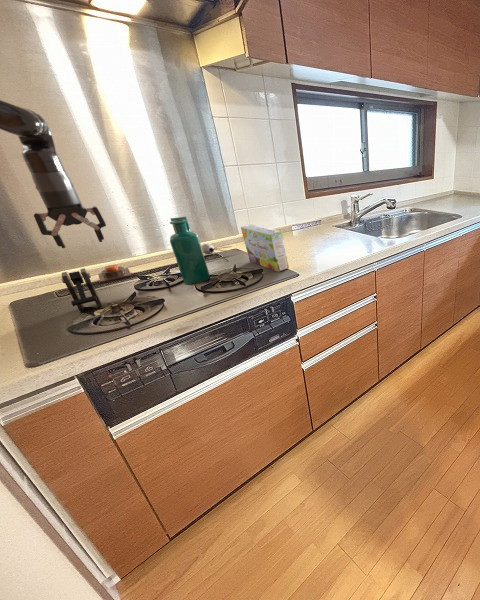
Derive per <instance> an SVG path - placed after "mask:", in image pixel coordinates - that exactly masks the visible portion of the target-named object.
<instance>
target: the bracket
mask: <svg viewBox="0 0 480 600" xmlns="http://www.w3.org/2000/svg"><path fill="white" fill-rule="evenodd" d="M80 274H81V276H82V278H83V281H84V283H85V285H86V287H87V289H88V291H89V293H90V296H95V297H96V299H97V301H94V303H95V305H96V307H97V308H98V309H101V308H103V304H102V301H101V299H100V297H99V295H98V292H97V290H96V288H95V286H94V284H93V282H92V280H91V278H92V275H91V274H90V273H89V272H87V270H86V268H85V267H84V268H80ZM60 280H61V282H62V283H63V284H65V286H66V289H67V290H68V292H69V294H70V296H71V298H72V299H73V301H74V300H78V299H80V296H79V293H78V290H77V288H75V287H76V286H75V285H74V284H73V282H72V281H71V279H70V276H69V273H68V272H67V271H64V272H61V278H60ZM84 307H85V305H84V304H80V305H76V308H77V309H78V311H79V313H80V314H81V313H85V312H86V309H85V310H84Z"/></svg>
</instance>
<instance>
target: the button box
mask: <svg viewBox="0 0 480 600" xmlns="http://www.w3.org/2000/svg"><path fill="white" fill-rule="evenodd" d="M118 268H119V270H116V271H112V272H107V271H106V269H105V268H104V269H103V270H101V272H100V273H98V274H97V275H98V280H99V282H100V284H106V283H110V282H115V281H119V280H125V279H128V278H132V277H133V275H132V273H131V271H130V270H129V269H130V268H129V267H124V266H118Z"/></svg>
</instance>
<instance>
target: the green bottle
mask: <svg viewBox="0 0 480 600" xmlns="http://www.w3.org/2000/svg"><path fill="white" fill-rule="evenodd" d="M169 220H170V222H169V224H170V225H172V229H173V231H174V233H172V234H171V235H170V237H169V244H170V247H171V250H172V252H173V255H174V258H175V261H176V263H177V267H178V269H179V273H180V275H181V278H182V281H183V284H185V285H194V284H198V283H197V282H199V283H203V282H202V281H204V282H207V281H206V280H208V279H209V276H210V277H211V274H210V271H209V267H208V263H207V261H206V257H205V254H204V253H203V251H202V247H201V245H202V244H201V241H200V238H199V235H198V233H197V232H195V231H192V230H191V227H190V224H189V220H188V218H187V216H177V217H171V218H169ZM208 281H209V280H208Z"/></svg>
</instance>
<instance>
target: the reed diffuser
mask: <svg viewBox="0 0 480 600" xmlns="http://www.w3.org/2000/svg"><path fill="white" fill-rule="evenodd" d="M201 247H202V251H203V254H204V255H207V256H211V255H212V256H213V258H214V259H215V260H217V258H216V256H215V254H216V255H217V256H218V257H220V258H223V259H224V260H225V261H227V262H229V260H228V259H226V258H225V257H224V256H222V255H220V254H219V253H217V252H215V251H218V250H219V251H220V252H226V250H225V249H227V248H228V246H224V247H214V245H212V244H210V243H202V244H201ZM229 248H232V246H229ZM223 249H224V250H223Z"/></svg>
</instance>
